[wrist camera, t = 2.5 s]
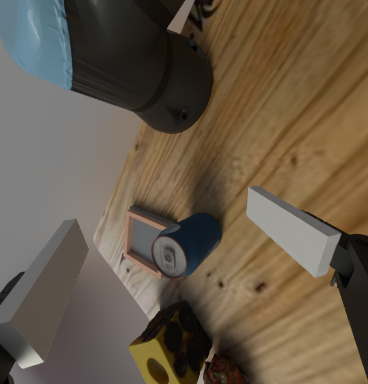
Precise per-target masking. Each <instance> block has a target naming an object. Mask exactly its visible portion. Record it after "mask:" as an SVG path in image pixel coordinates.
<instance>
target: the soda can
mask: <svg viewBox="0 0 368 384" xmlns="http://www.w3.org/2000/svg"><path fill="white" fill-rule="evenodd" d="M221 238H222V231H221V227H220V225H219V223H218V222H217V220H216V219H215V218H214V217H212V216H211V215H209V214H206V213H196V214H194V215H192V216H190V217H188V218H186V219H184V220H182V221H180V222H178V223H176V224H174V225H172V226H170V227H168V228H166V229H164V230H162V231H161V232H160V233H159V235H158V237H157V238H156V239H155V240H154V242H153V243H152V246H151V256H152V260H153V263H154V265H155V266H156V268H157V269H158V271H159V272H160V273H161V274H162V275H164V276H165V277H167V278H169V279H179V278H181V277H185V276H188V275H190V274H192V273H193V272H194V271H195V270H196V269H197V267H198V266H199V265H200V264H201V263H202V262H203V261H204V260H205V259H206V258H207V257H208V256H209V255H210V254H211V253H212V251H213V250H214V249H215V248H216V247H217V246H218V245H219V244H220V242H221Z"/></svg>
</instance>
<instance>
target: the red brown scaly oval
mask: <svg viewBox="0 0 368 384" xmlns="http://www.w3.org/2000/svg"><path fill="white" fill-rule="evenodd" d="M203 380H204V384H250V382H249V380H248V379H247V377H246V375H244V374H242V373H240V372H239V370H238V367H237V366H236V364H234V362H233V361H232V360H229V359H227V360H225V359H224V357H223V356H222V355H221V354H216V353H215V354H214V357H213V359H212V361H211V363H210V362H205V369H204V374H203Z"/></svg>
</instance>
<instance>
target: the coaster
mask: <svg viewBox="0 0 368 384" xmlns="http://www.w3.org/2000/svg"><path fill="white" fill-rule="evenodd" d="M176 223H177V222H174V221H172V220H169V219H167V218H164V217H162V216H159V215H157V214H154V213H152V212H149V211H147V210H144V209H142V208H139V207H137V206H130V210H126V224H125V240H124V255H123V256H124V257H126V258H128V259H129V260H131V261H132V262H134V263H135V264H137V265H138V266H140V267H142V268H143V269H145V270H146V271H148V272H149V273H151V274H153V275H154V276H156V277H157V278H159V279H160V280H161V279H162V278H163V277H164V278H166V279H167V277H165V276H164V275H162V274H161V273H160V272H159V271H158V269H157V268H156V266H155V265H154V263H153V260H152V256H151V246H152V243H153V242H154V240H155V239H156V238H157V237H158V235H159V233H160V232H161V231H162V230H164V229H166V228H168V227H170V226H172V225H174V224H176Z"/></svg>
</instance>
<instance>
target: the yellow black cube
mask: <svg viewBox="0 0 368 384" xmlns="http://www.w3.org/2000/svg"><path fill="white" fill-rule="evenodd" d="M128 348H129V350H130V352H131V354H132V356H133V358H134V360H135V362H136V364H137V366H138V367H139V370H140V372H141V374H142V376H143V378H144V380H145V382H146V384H197V381H198V378H199V375H200V371H201V369H202V367H203V364H204V362H205V360H206V359H207V358H208V355H209V352H210V350H211V348H212V343H211V341H210V339H209V338H208V336H207V334H206V333H205V331H204V330H203V328H202V326H201V324H200V323H199V321H198V320H197V318H196V316H195V315H194V313H193V311H192V309H191V308H190V306H189V305H188V303H187V302H186V301H185V300H183V301H181V302H179V303H175V304H173V305H171V306H170V307H169V306H168V309H164V310H160V311H159V312H158V313H157V314H156V316H155V317H154V318H153V319H152V320H151V321H150V323H149V324H148V326H147V328H146V330H145V331H144V332H143V333H142V334H141V336H139V337H138V338H137V339H136V340H135V341H133V342H132V343H131V344H130V345H129V347H128Z"/></svg>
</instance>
